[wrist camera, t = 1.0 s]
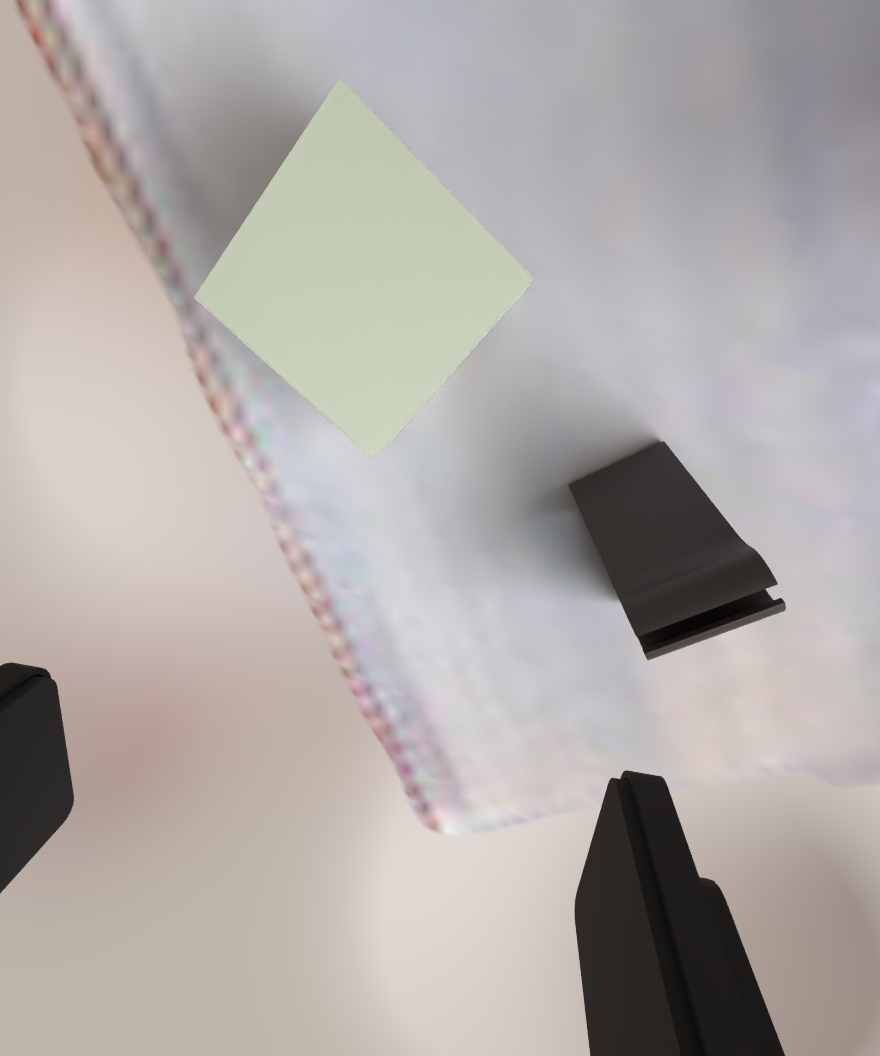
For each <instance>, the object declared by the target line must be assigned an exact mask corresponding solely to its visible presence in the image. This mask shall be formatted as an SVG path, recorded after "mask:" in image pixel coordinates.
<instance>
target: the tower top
mask: <svg viewBox="0 0 880 1056" xmlns="http://www.w3.org/2000/svg"><path fill="white" fill-rule="evenodd" d="M533 279H534V278H533V277H532V276H531V275H530V273H529V272H528V271H527V270H526V269H525V268H524V267H523V266H522V265H521V264H520V263H519V262H518V261H517V260H516V259H515V258H514V257H513V256H512V255H511V254H510V253H509V252H508V251H507V250H506V249H505V248H504V247H503V246H502V245H501V243H500V242H499V241H498V240H497V239H496V238H495V237H494V236H493V235H492V234H491V233H490V232H489V231H488V230H487V229H486V228H485V227H484V226H483V225H482V224H481V223H480V222H479V221H478V220H477V219H476V218H475V217H474V216H473V215H472V213H471V212H470V211H469V210H468V209H467V208H466V207H465V206H464V205H463V204H462V203H461V202H460V201H459V200H458V199H457V198H456V197H455V196H454V195H453V194H452V193H451V192H450V191H449V190H448V189H447V188H446V187H445V186H444V185H443V183H442V182H441V181H440V180H439V179H438V178H437V177H436V176H435V175H434V174H433V173H432V172H431V171H430V170H429V169H428V168H427V167H426V166H425V165H424V164H423V163H422V162H421V161H420V160H419V159H418V158H417V157H416V156H415V154H414V153H413V152H412V151H411V150H410V149H409V148H408V147H407V146H406V145H405V144H404V143H403V142H402V141H401V140H400V139H399V138H398V137H397V136H396V135H395V134H394V133H393V132H392V131H391V130H390V129H389V128H388V127H387V126H386V124H385V123H384V122H383V121H382V120H381V119H380V118H379V117H378V116H377V115H376V114H375V113H374V112H373V111H372V110H371V109H370V108H369V107H368V106H367V105H366V104H365V103H364V102H363V101H362V100H361V99H360V98H359V97H358V96H357V94H356V93H355V92H354V91H353V90H352V89H351V88H350V87H349V86H348V85H347V84H346V83H345V82H344V81H343V80H342V79H341V78H340V77H339V79H338V80H337V82H336V83H335V85H334V86H333V88H332V89H331V91H330V92H329V94H328V95H327V97H326V98H325V100H324V101H323V103H322V104H321V106H320V107H319V109H318V110H317V112H316V113H315V115H314V116H313V118H312V119H311V121H310V122H309V124H308V125H307V127H306V129H305V130H304V132H303V133H302V135H301V136H300V138H299V139H298V141H297V142H296V144H295V145H294V147H293V148H292V150H291V151H290V153H289V154H288V156H287V157H286V159H285V160H284V162H283V163H282V165H281V166H280V168H279V169H278V171H277V172H276V174H275V175H274V177H273V178H272V180H271V181H270V183H269V184H268V186H267V187H266V189H265V190H264V192H263V194H262V195H261V197H260V198H259V200H258V201H257V203H256V204H255V206H254V207H253V209H252V210H251V212H250V213H249V215H248V216H247V218H246V219H245V221H244V222H243V224H242V225H241V227H240V228H239V230H238V231H237V233H236V234H235V236H234V237H233V239H232V240H231V242H230V243H229V245H228V246H227V248H226V249H225V251H224V252H223V254H222V255H221V257H220V259H219V260H218V262H217V263H216V265H215V266H214V268H213V269H212V271H211V272H210V274H209V275H208V277H207V278H206V280H205V281H204V283H203V284H202V286H201V287H200V289H199V290H198V292H197V293H196V295H195V296H194V298H195V299H196V300H197V301H198V302H199V303H200V304H201V305H203V306H204V307H205V308H206V309H207V310H208V311H209V312H210V313H211V314H212V315H214V316H215V317H216V318H217V319H218V320H219V321H220V322H221V323H222V324H224V325H225V326H226V327H227V328H228V329H229V330H230V331H231V332H232V333H233V334H235V335H236V336H237V337H238V338H239V339H240V340H241V341H242V342H243V343H244V344H246V345H247V346H248V347H249V348H250V349H251V350H252V351H253V352H254V353H255V354H257V355H258V356H259V357H260V358H261V359H262V360H263V361H264V362H265V363H267V364H268V365H269V366H270V367H271V368H272V369H273V370H274V371H275V372H276V373H278V374H279V375H280V376H281V377H282V378H283V379H284V380H285V381H286V382H287V383H289V384H290V385H291V386H292V387H293V388H294V389H295V390H296V391H297V392H299V393H300V394H301V395H302V396H303V397H304V398H305V399H306V400H307V401H308V402H310V403H311V404H312V405H313V406H314V407H315V408H316V409H317V410H318V411H319V412H321V413H322V414H323V415H324V416H325V417H326V418H327V419H328V420H329V421H331V422H332V423H333V424H334V425H335V426H336V427H337V428H338V429H339V430H340V431H342V432H343V433H344V434H345V435H346V436H347V437H348V438H349V439H350V440H351V441H353V442H354V443H355V444H356V445H357V446H358V447H359V448H360V449H361V450H362V451H364V452H365V453H366V454H367V455H368V456H369V457H370V458H371V459H373V458H374V457H375V456H376V455H377V454H378V453H379V452H380V451H381V450H382V449H383V448H384V447H385V446H386V445H387V444H388V443H389V442H390V441H391V440H392V439H393V438H394V437H395V436H396V435H397V434H398V433H399V432H400V431H401V429H402V428H403V427H404V426H405V425H406V424H407V423H408V422H409V421H410V419H411V418H412V417H413V416H414V415H415V414H416V413H417V412H418V410H419V409H420V408H421V407H422V406H423V405H424V404H425V403H426V402H427V400H428V399H429V398H430V397H431V396H432V395H433V394H434V393H435V391H436V390H437V389H438V388H439V387H440V386H441V385H442V384H443V383H444V381H445V380H446V379H447V378H448V377H449V376H450V375H451V374H452V372H453V371H454V370H455V369H456V368H457V367H458V366H459V365H460V364H461V362H462V361H463V360H464V359H465V358H466V357H467V356H468V355H469V353H470V352H471V351H472V350H473V349H474V348H475V347H476V346H477V345H478V343H479V342H480V341H481V340H482V339H483V338H484V337H485V336H486V334H487V333H488V332H489V331H490V330H491V329H492V328H493V327H494V326H495V324H496V323H497V322H498V321H499V320H500V319H501V318H502V317H503V315H504V314H505V313H506V312H507V311H508V310H509V309H510V308H511V307H512V305H513V304H514V303H515V302H516V301H517V300H518V299H519V298H520V296H521V295H522V294H523V293H524V292H525V291H526V290H527V289H528V288H529V286H530V284H531V283H532V281H533Z"/></svg>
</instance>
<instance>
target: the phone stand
mask: <svg viewBox="0 0 880 1056" xmlns="http://www.w3.org/2000/svg"><path fill="white" fill-rule="evenodd" d="M569 487H570V489H571V491H572V494H573V496H574V498H575V500H576V503H577V505H578V507H579V509H580V511H581V514H582V516H583V518H584V520H585V523H586V525H587V527H588V529H589V532H590V534H591V536H592V538H593V541H594V543H595V545H596V547H597V550H598V552H599V554H600V556H601V558H602V561H603V563H604V565H605V567H606V570H607V572H608V574H609V576H610V579H611V581H612V583H613V585H614V588H615V590H616V592H617V594H618V597H619V599H620V602H621V604H622V606H623V608H624V611H625V613H626V615H627V617H628V620H629V622H630V624H631V626H632V628H633V630H634V633H635V635H636V637H638V639H639V641H640V643H641V646H642V648H643V652H644V654H645V656H646V658H647V660H650V659H653V658H656V657H659V656H661V655H664V654H667V653H670V652H672V651H675V650H678V649H681V648H683V647H686V646H689V645H692V644H694V643H697V642H700V641H703V640H706V639H708V638H711V637H714V636H717V635H719V634H722V633H725V632H728V631H730V630H733V629H736V628H739V627H741V626H744V625H747V624H750V623H752V622H755V621H758V620H761V619H763V618H766V617H769V616H772V615H774V614H777V613H780V612H783V611H785V609H786V606H785V602H784V601H783V599H782V598H779V599H777V600H773V599H772V598H771V597H770V595H769V594H768V592H767V591H766V590H765V589H766V588H769V587H772V586H774V585H777V584H778V583H777V581H776V579H775V578H774V576H773V574H772V572H771V571H770V569H769V567H768V566H767V564H766V563H765V561H764V560H763V559H762V557H761V556H760V555H759V554H758V552H757V551H756V550H755V549H753V548H752V547H750V546H749V545H747V544H746V543H745V542H744V541H743V540H742V539H741V538H740V537H739V536H738V534H737V533H736V532H735V531H734V529H733V528H732V527H731V526H730V524H729V523H728V522H727V521H726V519H725V518H724V517H723V515H722V514H721V513H720V512H719V510H718V509H717V508H716V507H715V505H714V504H713V503H712V502H711V500H710V499H709V498H708V496H707V495H706V494H705V493H704V491H703V490H702V489H701V488H700V486H699V485H698V484H697V483H696V481H695V480H694V479H693V477H692V476H691V475H690V474H689V472H688V471H687V470H686V469H685V467H684V466H683V465H682V463H681V462H680V461H679V460H678V458H677V457H676V456H675V455H674V453H673V452H672V451H671V450H670V448H669V447H668V446H667V444H666V443H665V442H664V441H663V442H661V443H659V444H657V445H655V446H653V447H650V448H648V449H646V450H644V451H642V452H640V453H637V454H635V455H633V456H631V457H629V458H626V459H624V460H622V461H620V462H618V463H616V464H613V465H611V466H609V467H607V468H605V469H603V470H600V471H598V472H596V473H594V474H592V475H589V476H587V477H585V478H583V479H581V480H579V481H576V482H574V483H572V484H570V485H569Z"/></svg>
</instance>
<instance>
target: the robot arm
mask: <svg viewBox="0 0 880 1056" xmlns="http://www.w3.org/2000/svg"><path fill="white" fill-rule="evenodd" d="M73 802H74V795H73V788H72V781H71V775H70V768H69V762H68V755H67V748H66V742H65V736H64V729H63V722H62V715H61V709H60V703H59V695H58V689H57V685H56V682H55V681H54V680H52V679H51V676H50V673H49V672H48V671H47V670H46V669H43V668H39V667H34V666H28V665H22V664H17V663H6V664H3V665H1V666H0V893H1V892H2V891H3V890H4V889H5V888H6V886H7V885H8V884H9V883H10V882H11V881H12V879H14V877H15V876H16V875H17V874H18V873H19V872H20V871H21V870H22V868H23V867H24V866H25V865H26V864H27V863H28V862H29V860H30V859H31V858H32V857H33V856H34V855H35V854H36V853H37V852H38V851H39V849H40V848H41V847H42V846H43V845H44V844H45V843H46V841H47V840H48V839H49V838H50V837H51V836H52V835H53V834H54V833H55V832H56V830H57V829H58V828H59V827H60V826H61V825H62V824H63V823H64V821H65V820H66V819H67V817H68V815H69V813H70V812H71V809H72V806H73ZM575 925H576V934H577V942H578V951H579V960H580V969H581V977H582V986H583V995H584V1004H585V1013H586V1020H587V1030H588V1039H589V1047H590V1056H785V1054H784V1052H783V1049H782V1047H781V1044H780V1041H779V1039H778V1036H777V1033H776V1031H775V1028H774V1025H773V1023H772V1020H771V1018H770V1015H769V1013H768V1010H767V1007H766V1005H765V1002H764V999H763V997H762V994H761V991H760V989H759V986H758V984H757V981H756V979H755V976H754V973H753V970H752V968H751V965H750V963H749V960H748V957H747V955H746V952H745V949H744V947H743V944H742V942H741V939H740V936H739V934H738V931H737V928H736V926H735V924H734V920H733V918H732V915H731V913H730V910H729V907H728V905H727V902H726V900H725V898H724V895H723V893H722V891H721V889H720V888H719V886H718V885H717V884H716V883H715V882H714V881H712V880H709V879H706V878H700V877H699V875H698V873H697V870H696V867H695V864H694V861H693V858H692V855H691V852H690V850H689V847H688V844H687V841H686V838H685V835H684V832H683V829H682V827H681V824H680V821H679V818H678V815H677V812H676V809H675V807H674V804H673V801H672V798H671V795H670V792H669V789H668V786H667V784H666V782H665V780H664V779H663V778H662V777H661V776H655V775H650V774H644V773H638V772H633V771H624V772H623V773H622V776H621V778H620V779H616V778H611V779H610V781H609V783H608V786H607V790H606V793H605V797H604V800H603V804H602V807H601V810H600V814H599V817H598V821H597V824H596V828H595V831H594V835H593V838H592V842H591V845H590V848H589V852H588V856H587V859H586V862H585V866H584V869H583V873H582V876H581V879H580V883H579V887H578V890H577V894H576V899H575Z"/></svg>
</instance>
